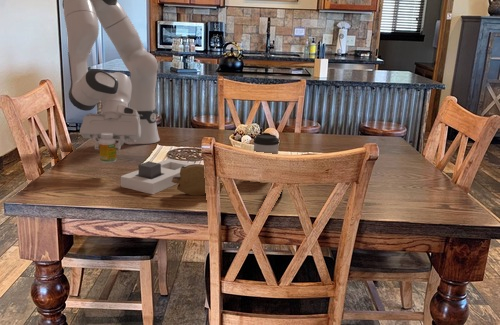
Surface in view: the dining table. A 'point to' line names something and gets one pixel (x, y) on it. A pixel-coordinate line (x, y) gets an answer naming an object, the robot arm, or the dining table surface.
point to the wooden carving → (192, 180)
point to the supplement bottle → (107, 148)
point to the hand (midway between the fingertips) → (107, 148)
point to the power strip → (153, 176)
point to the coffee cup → (266, 143)
